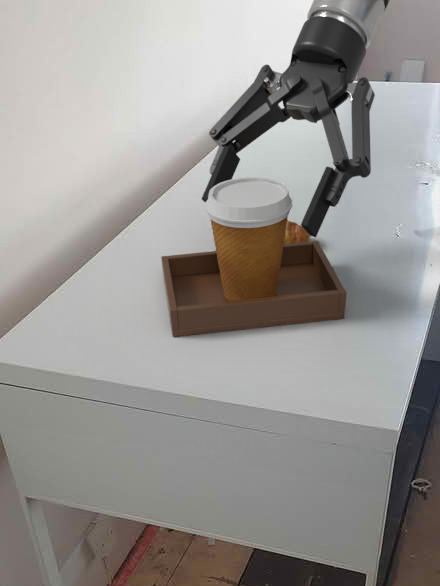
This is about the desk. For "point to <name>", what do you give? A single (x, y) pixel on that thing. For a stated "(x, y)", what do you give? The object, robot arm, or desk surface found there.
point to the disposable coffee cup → (249, 234)
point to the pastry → (295, 233)
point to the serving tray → (251, 312)
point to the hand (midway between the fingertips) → (256, 217)
